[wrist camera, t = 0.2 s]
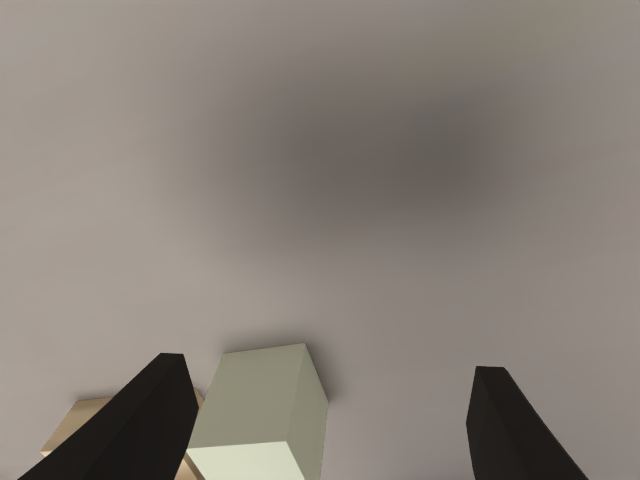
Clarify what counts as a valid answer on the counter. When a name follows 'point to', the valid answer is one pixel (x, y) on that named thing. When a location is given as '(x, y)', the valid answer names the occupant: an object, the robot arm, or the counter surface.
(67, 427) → the maple slab
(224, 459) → the sage block
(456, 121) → the counter surface
